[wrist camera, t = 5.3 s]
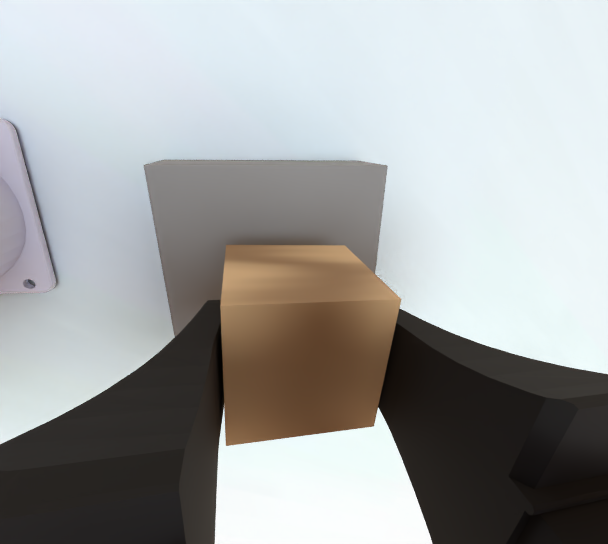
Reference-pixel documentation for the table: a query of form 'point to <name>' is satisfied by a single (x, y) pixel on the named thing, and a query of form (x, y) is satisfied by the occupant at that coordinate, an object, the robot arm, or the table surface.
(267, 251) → the oak cube
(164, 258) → the gray block
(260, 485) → the table surface
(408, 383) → the robot arm
